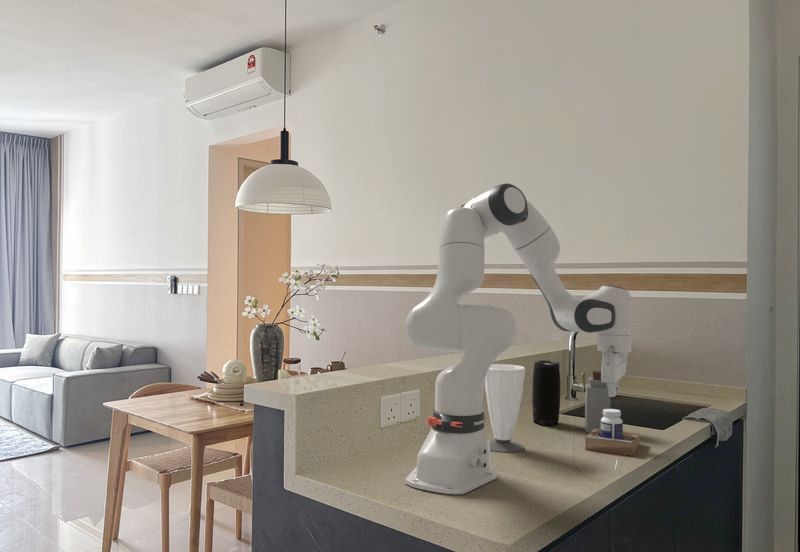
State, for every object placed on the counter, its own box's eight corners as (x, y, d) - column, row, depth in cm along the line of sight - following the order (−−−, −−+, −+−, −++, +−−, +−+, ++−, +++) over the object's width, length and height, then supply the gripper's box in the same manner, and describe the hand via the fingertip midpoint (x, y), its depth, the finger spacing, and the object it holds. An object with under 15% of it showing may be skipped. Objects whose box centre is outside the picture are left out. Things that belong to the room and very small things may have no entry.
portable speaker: (535, 426, 187) (535, 363, 187) (529, 419, 196) (530, 359, 196) (562, 427, 186) (563, 364, 187) (556, 420, 196) (556, 360, 196)
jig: (632, 456, 156) (632, 443, 156) (585, 449, 161) (585, 436, 161) (639, 444, 168) (639, 431, 168) (594, 438, 174) (594, 426, 174)
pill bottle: (619, 444, 167) (620, 408, 168) (624, 449, 162) (625, 412, 162) (598, 443, 168) (599, 407, 168) (602, 448, 162) (603, 411, 163)
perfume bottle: (586, 432, 180) (587, 372, 181) (585, 427, 187) (585, 369, 187) (610, 434, 179) (610, 373, 179) (607, 428, 185) (608, 370, 186)
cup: (509, 439, 170) (510, 363, 170) (533, 450, 160) (534, 368, 160) (473, 443, 166) (474, 364, 166) (495, 454, 155) (497, 370, 155)
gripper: (620, 348, 154) (620, 402, 154) (631, 342, 172) (630, 390, 172) (595, 347, 157) (594, 400, 157) (608, 341, 175) (607, 388, 175)
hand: (613, 395), depth 165 cm, fingers open, 3 cm apart
